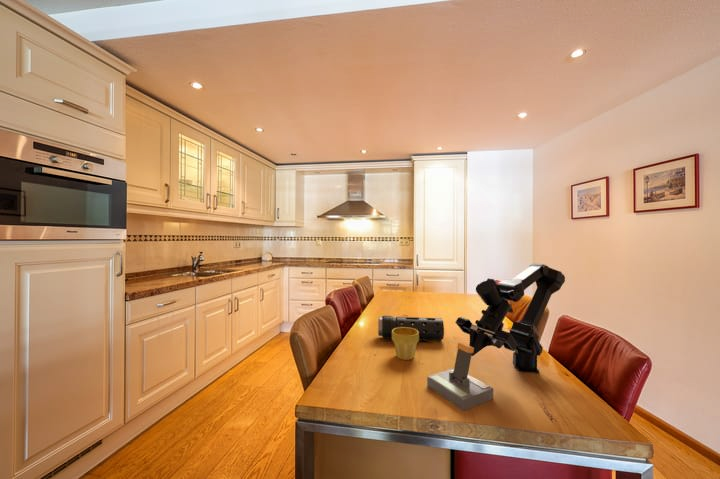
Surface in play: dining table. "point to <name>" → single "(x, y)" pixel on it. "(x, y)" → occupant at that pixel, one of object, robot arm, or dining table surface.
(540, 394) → the dining table surface
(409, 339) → the plant pot
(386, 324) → the muzzle brake
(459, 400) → the switch base
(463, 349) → the handle
